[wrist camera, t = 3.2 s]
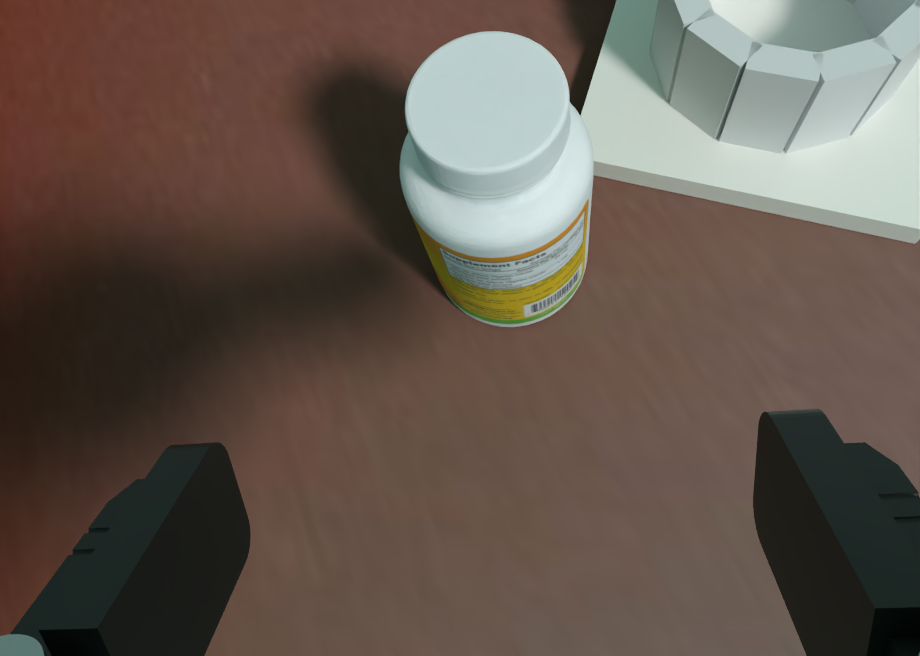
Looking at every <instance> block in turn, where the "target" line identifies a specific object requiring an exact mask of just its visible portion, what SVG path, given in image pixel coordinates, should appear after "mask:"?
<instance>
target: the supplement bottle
mask: <svg viewBox="0 0 920 656" xmlns="http://www.w3.org/2000/svg"><path fill="white" fill-rule="evenodd" d="M405 119H406V125H407V128H408V134H407V136H406V138H405V141H404V144H403V147H402V151H401V158H400V181H401V187H402V191H403V194H404V197H405V200H406V203H407V206H408V209H409V211H410V213H411V216H412V218H413V221H414V223H415V225H416V228H417V230H418V232H419V234H420V237H421V239H422V242H423V244H424V246H425V249H426V251H427V253H428V256H429V258H430V260H431V263H432V265H433V267H434V270H435V272H436V274H437V277H438V279H439V281H440V283H441V285H442V287H443V289H444V291H445V292H446V294H447V296H448V297H449V298H450V300H451V301H452V302H453V303H454V304H455V305H456V306H457V307H458V308H459V309H460V310H461V311H463V312H464V313H466V314H467V315H469V316H470V317H472V318H474V319H476V320H479V321H481V322H484V323H487V324H490V325H495V326H501V327H518V326H525V325H529V324H532V323H535V322H538V321H541V320H543V319H545V318H547V317H549V316H551V315H552V314H554V313H555V312H557V311H558V310H559V309H561V308H562V307H563V306H564V305H565V304H566V303H567V302H568V301H569V300H570V299H571V298H572V296H573V295H574V293H575V292H576V290H577V289H578V287H579V285H580V283H581V281H582V278H583V275H584V272H585V268H586V263H587V255H588V241H589V227H590V212H591V198H592V186H593V171H594V160H593V148H592V143H591V139H590V135H589V132H588V130H587V127H586V125H585V123H584V121H583V119H582V118H581V116H580V115H579V113H578V112H577V110H576V109H575V108H574V107H573V105H572V104H571V103H570V96H569V88H568V83H567V80H566V77H565V74H564V72H563V70H562V68H561V66H560V65H559V63H558V62H557V60H556V59H555V58H554V57H553V55H552V54H551V53H550V52H548V51H547V50H546V49H545V48H544V47H542V46H541V45H540V44H538V43H536V42H534V41H532V40H531V39H529V38H526V37H523V36H520V35H517V34H513V33H507V32H499V31H489V32H478V33H473V34H469V35H465V36H463V37H460V38H457V39H455V40H453V41H451V42H449V43H447V44H445V45H444V46H442V47H440V48H439V49H437V50H436V51H435V52H434V53H433V54H431V55H430V56H429V57H428V58H427V59H426V60H425V61H424V62H423V63H422V65H421V66H420V67H419V69H418V70H417V72H416V73H415V75H414V76H413V78H412V80H411V83H410V85H409V88H408V90H407V95H406V100H405Z"/></svg>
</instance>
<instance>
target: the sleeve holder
mask: <svg viewBox="0 0 920 656" xmlns="http://www.w3.org/2000/svg"><path fill="white" fill-rule="evenodd" d="M581 118H582V119H583V121H584V123H585V125H586V127H587V130H588V132H589V135H590V139H591V143H592V148H593V160H594V171H593V175H595V176H599V177H604V178H609V179H614V180H618V181H623V182H628V183H632V184H637V185H642V186H646V187H651V188H656V189H660V190H665V191H670V192H674V193H679V194H684V195H688V196H693V197H698V198H703V199H707V200H712V201H717V202H721V203H726V204H731V205H735V206H740V207H745V208H749V209H754V210H759V211H763V212H768V213H773V214H778V215H782V216H787V217H792V218H796V219H801V220H806V221H810V222H815V223H820V224H824V225H829V226H834V227H838V228H843V229H848V230H853V231H857V232H862V233H867V234H871V235H876V236H881V237H885V238H890V239H895V240H899V241H904V242H909V243H913V244H915V243H916V242H917V241H918V240H919V239H920V0H616V4H615V7H614V10H613V13H612V16H611V20H610V23H609V26H608V29H607V33H606V36H605V39H604V42H603V45H602V49H601V52H600V55H599V58H598V61H597V65H596V68H595V71H594V74H593V77H592V81H591V84H590V87H589V90H588V93H587V97H586V100H585V103H584V106H583V109H582V113H581Z"/></svg>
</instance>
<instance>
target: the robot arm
mask: <svg viewBox="0 0 920 656" xmlns="http://www.w3.org/2000/svg"><path fill="white" fill-rule="evenodd" d="M753 508H754V518H755V524H756V529H757V533H758V537H759V540H760V543H761V545H762V548H763V550H764V553H765V555H766V558H767V560H768V562H769V565H770V567H771V570H772V572H773V575H774V577H775V579H776V582H777V584H778V587H779V589H780V592H781V594H782V596H783V599H784V601H785V604H786V606H787V609H788V611H789V613H790V616H791V618H792V621H793V623H794V626H795V628H796V631H797V633H798V635H799V638H800V640H801V643H802V645H803V648H804V650H805V652H806V655H807V656H920V498H919V495H918V491H917V490H916V489H915V487H914V486H913V485H912V483H911V482H910V480H909V479H908V478H907V476H906V475H905V474H904V472H903V471H902V470H901V468H900V467H899V466H898V465H897V464H896V463H894V462H893V461H891V460H890V459H888V458H887V457H885V456H884V455H883V454H881V453H880V452H878V451H877V450H875V449H874V448H872V447H871V446H869V445H868V444H866V443H865V442H864V443H845V444H844V443H843V441H842V440H841V438H840V437H839V435H838V434H837V432H836V430H835V429H834V427H833V426H832V424H831V423H830V421H829V420H828V418H827V417H826V415H825V414H824V413H823V412H822V411H821V410H819V409H809V410H792V411H775V412H763V413H762V415H761V417H760V420H759V427H758V440H757V453H756V467H755V480H754V494H753ZM249 547H250V524H249V519H248V516H247V513H246V509H245V506H244V503H243V500H242V497H241V493H240V490H239V487H238V484H237V480H236V477H235V474H234V471H233V468H232V464H231V461H230V458H229V455H228V452H227V450H226V449H225V447H224V446H223V445H222V444H221V443H202V444H185V445H172V446H169V447H168V448H166V450H165V451H164V452H163V454H162V455H161V456H160V458H159V459H158V461H157V462H156V463H155V465H154V466H153V468H152V469H151V471H150V472H149V473H148V475H147V476H146V478H145V479H138V480H136V481H134V482H133V483H132V484H131V485H129V486H128V487H127V488H126V489H124V490H123V491H122V492H120V493H119V494H118V495H117V496H115V497H114V498H113V499H112V500H110V501H109V502H108V503H107V504H106V505H105V507H104V508H103V510H102V511H101V512H100V514H99V515H98V516H97V518H96V519H95V520H94V522H93V523H92V524H91V526H90V527H89V532H88V533H86V534H84V535H83V536H82V538H81V539H80V541H79V542H78V543H77V545H76V546H75V547H74V549H73V554H72V555H68V557H67V558H66V559H65V561H64V562H63V563H62V565H61V566H60V568H59V569H58V570H57V572H56V573H55V574H54V576H53V577H52V578H51V580H50V581H49V582H48V584H47V585H46V586H45V588H44V589H43V590H42V592H41V593H40V594H39V596H38V597H37V599H36V600H35V601H34V603H33V604H32V605H31V607H30V608H29V609H28V611H27V612H26V613H25V615H24V616H23V617H22V619H21V620H20V621H19V623H18V624H17V625H16V627H15V628H14V630H13V631H12V632H11V634H10V635H3V636H0V656H204V655H205V653H206V650H207V648H208V646H209V644H210V641H211V639H212V637H213V635H214V632H215V630H216V628H217V626H218V623H219V621H220V619H221V617H222V614H223V612H224V610H225V608H226V605H227V603H228V601H229V599H230V596H231V594H232V592H233V589H234V587H235V585H236V583H237V580H238V578H239V576H240V574H241V571H242V569H243V567H244V565H245V562H246V560H247V557H248V553H249Z"/></svg>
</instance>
